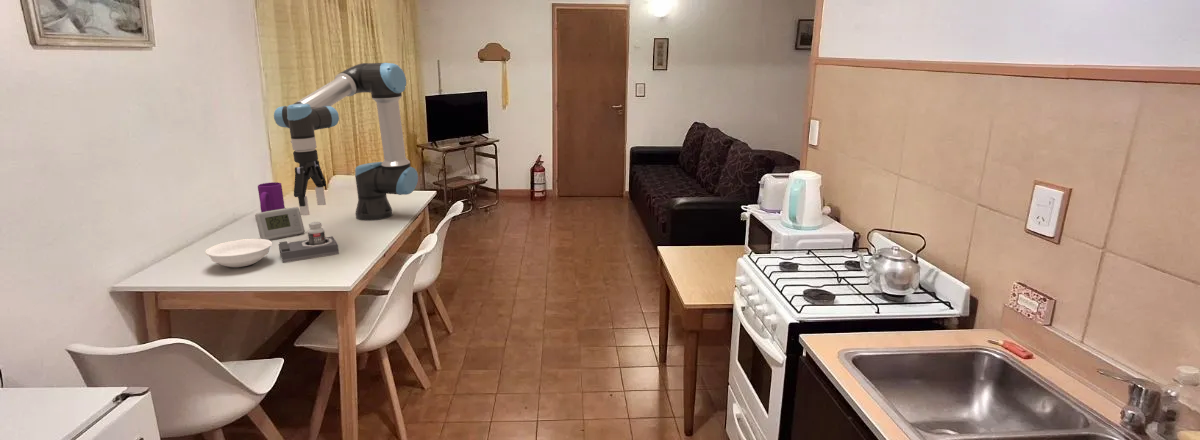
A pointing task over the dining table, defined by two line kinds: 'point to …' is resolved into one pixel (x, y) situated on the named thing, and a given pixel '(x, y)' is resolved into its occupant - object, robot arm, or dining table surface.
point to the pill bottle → (316, 234)
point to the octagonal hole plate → (307, 249)
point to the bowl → (239, 252)
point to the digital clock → (279, 223)
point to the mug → (271, 196)
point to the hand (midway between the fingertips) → (313, 209)
